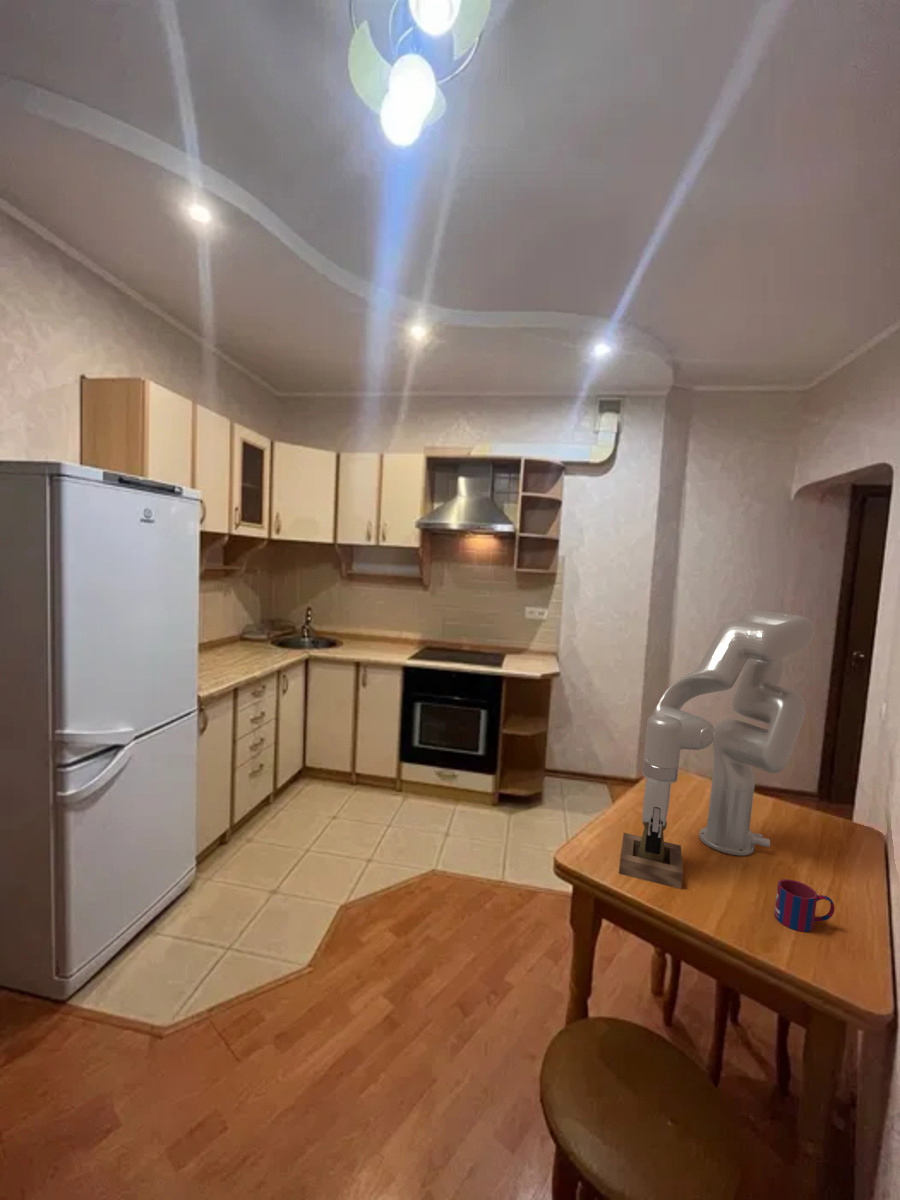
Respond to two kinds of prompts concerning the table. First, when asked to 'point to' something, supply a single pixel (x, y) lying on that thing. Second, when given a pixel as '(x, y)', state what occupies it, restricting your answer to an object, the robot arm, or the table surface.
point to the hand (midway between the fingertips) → (652, 846)
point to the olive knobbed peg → (642, 852)
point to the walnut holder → (651, 863)
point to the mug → (798, 905)
